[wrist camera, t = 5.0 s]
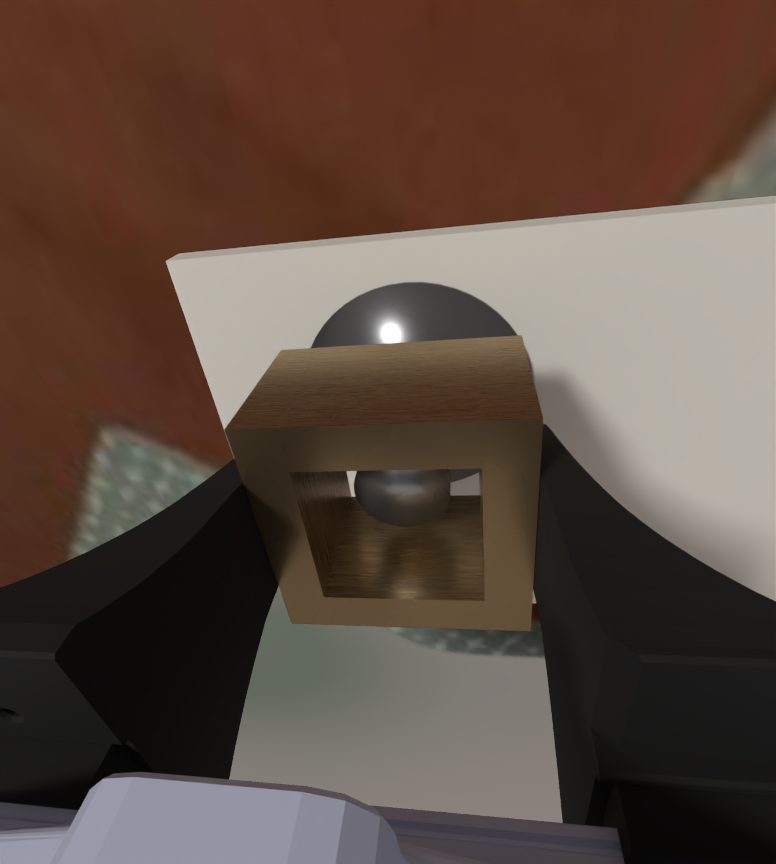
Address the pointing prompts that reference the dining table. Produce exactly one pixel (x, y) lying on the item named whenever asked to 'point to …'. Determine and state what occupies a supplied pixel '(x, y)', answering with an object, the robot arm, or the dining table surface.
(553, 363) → the pale board
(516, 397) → the bronze collar
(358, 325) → the steel post
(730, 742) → the robot arm
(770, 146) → the dining table surface
